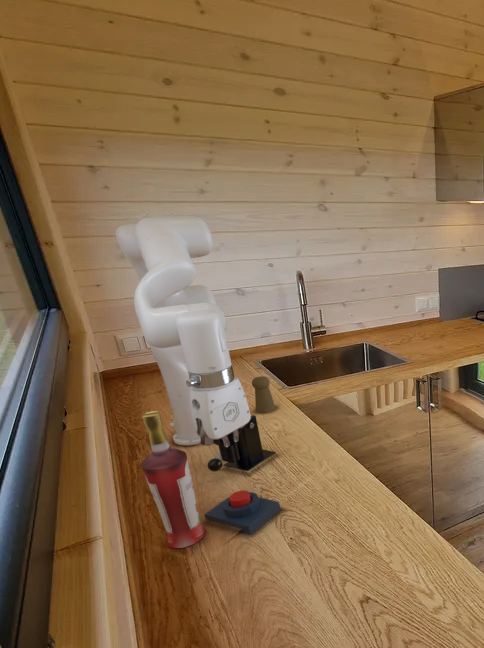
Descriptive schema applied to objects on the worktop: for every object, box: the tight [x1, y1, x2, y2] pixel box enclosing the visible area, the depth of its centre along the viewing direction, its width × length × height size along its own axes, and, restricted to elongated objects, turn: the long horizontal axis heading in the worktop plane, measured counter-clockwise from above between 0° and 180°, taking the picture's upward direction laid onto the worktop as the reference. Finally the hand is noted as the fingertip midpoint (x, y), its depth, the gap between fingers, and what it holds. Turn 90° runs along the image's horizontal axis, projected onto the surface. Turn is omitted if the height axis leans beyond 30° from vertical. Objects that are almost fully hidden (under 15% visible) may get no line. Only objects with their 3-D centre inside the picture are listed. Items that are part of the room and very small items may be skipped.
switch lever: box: [207, 430, 241, 473], centre depth 119 cm, size 15×3×3 cm
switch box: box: [204, 491, 282, 536], centre depth 104 cm, size 12×9×4 cm
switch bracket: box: [222, 414, 277, 472], centre depth 124 cm, size 10×8×13 cm
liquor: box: [140, 410, 207, 549], centre depth 92 cm, size 7×7×28 cm
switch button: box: [228, 490, 251, 507], centre depth 103 cm, size 4×4×2 cm
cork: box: [251, 375, 276, 414], centre depth 156 cm, size 6×6×11 cm
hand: (231, 460), depth 100 cm, fingers closed
